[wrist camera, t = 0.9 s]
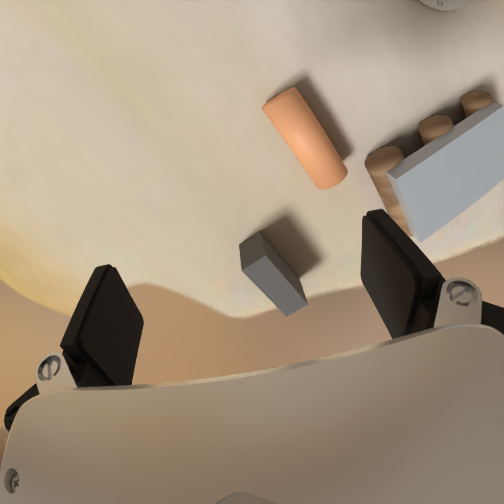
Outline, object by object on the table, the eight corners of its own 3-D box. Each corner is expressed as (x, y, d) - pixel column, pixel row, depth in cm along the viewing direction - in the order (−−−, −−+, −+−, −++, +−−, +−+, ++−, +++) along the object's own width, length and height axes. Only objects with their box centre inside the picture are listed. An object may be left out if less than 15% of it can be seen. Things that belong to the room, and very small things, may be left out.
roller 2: (358, 161, 31) (375, 174, 27) (388, 142, 30) (408, 153, 26) (389, 224, 36) (405, 242, 32) (415, 206, 35) (433, 223, 31)
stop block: (260, 231, 35) (265, 255, 31) (299, 278, 39) (307, 304, 35) (239, 244, 35) (241, 270, 31) (280, 289, 40) (286, 316, 36)
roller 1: (269, 98, 27) (256, 113, 25) (299, 82, 25) (289, 96, 23) (319, 172, 32) (312, 193, 30) (349, 162, 30) (344, 183, 28)
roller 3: (454, 100, 27) (477, 107, 23) (474, 88, 25) (497, 95, 22) (473, 165, 32) (493, 177, 28) (491, 151, 30) (511, 162, 27)
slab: (491, 101, 23) (503, 105, 21) (504, 162, 27) (515, 168, 25) (385, 171, 27) (395, 179, 26) (410, 232, 32) (420, 242, 30)
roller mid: (411, 127, 29) (432, 137, 25) (436, 112, 28) (459, 120, 24) (434, 193, 34) (453, 207, 30) (456, 177, 32) (476, 190, 29)
